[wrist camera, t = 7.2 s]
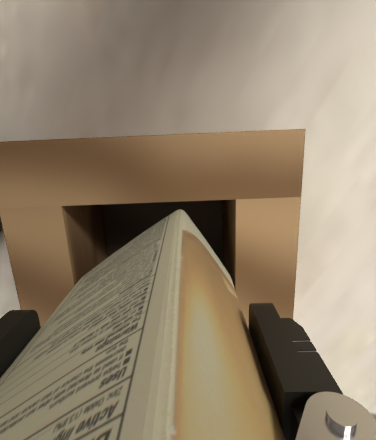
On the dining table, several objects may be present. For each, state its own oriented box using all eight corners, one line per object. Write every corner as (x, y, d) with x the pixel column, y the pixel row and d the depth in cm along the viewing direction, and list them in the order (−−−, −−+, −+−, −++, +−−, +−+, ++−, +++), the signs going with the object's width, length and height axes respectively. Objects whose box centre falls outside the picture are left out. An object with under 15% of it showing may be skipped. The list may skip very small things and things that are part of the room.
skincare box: (133, 338, 15) (-105, 1151, 3) (78, 275, 14) (-613, 1091, 2) (238, 273, 14) (548, 1134, 2) (186, 200, 13) (120, 990, 1)
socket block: (47, 142, 17) (-17, 142, 12) (269, 133, 16) (305, 128, 11) (78, 332, 20) (40, 397, 15) (262, 327, 20) (288, 391, 15)
